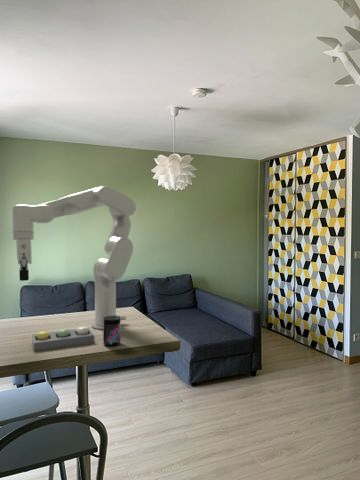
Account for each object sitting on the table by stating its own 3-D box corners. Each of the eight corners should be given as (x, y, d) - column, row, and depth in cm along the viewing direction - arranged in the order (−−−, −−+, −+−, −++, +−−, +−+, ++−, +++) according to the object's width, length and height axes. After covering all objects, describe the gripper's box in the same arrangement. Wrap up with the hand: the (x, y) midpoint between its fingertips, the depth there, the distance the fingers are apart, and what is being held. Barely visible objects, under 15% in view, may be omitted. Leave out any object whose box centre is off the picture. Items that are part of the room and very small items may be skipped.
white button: (86, 331, 144) (86, 326, 144) (89, 335, 140) (89, 328, 140) (75, 333, 142) (75, 327, 142) (77, 336, 138) (77, 330, 138)
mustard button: (48, 336, 138) (48, 330, 137) (49, 340, 134) (49, 333, 134) (36, 338, 136) (36, 331, 136) (37, 341, 132) (37, 335, 132)
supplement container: (102, 347, 133) (102, 320, 132) (103, 341, 139) (103, 315, 139) (120, 346, 134) (120, 320, 133) (120, 340, 140) (120, 315, 140)
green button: (68, 334, 141) (68, 328, 141) (69, 337, 137) (69, 331, 137) (56, 335, 139) (56, 329, 139) (58, 338, 135) (58, 332, 135)
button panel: (88, 334, 148) (88, 327, 148) (94, 342, 138) (94, 335, 138) (32, 341, 138) (32, 334, 138) (34, 351, 128) (34, 343, 128)
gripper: (34, 236, 132) (35, 281, 133) (32, 235, 148) (33, 275, 149) (12, 236, 129) (13, 282, 130) (13, 235, 145) (14, 276, 145)
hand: (24, 278), depth 139 cm, fingers open, 9 cm apart
